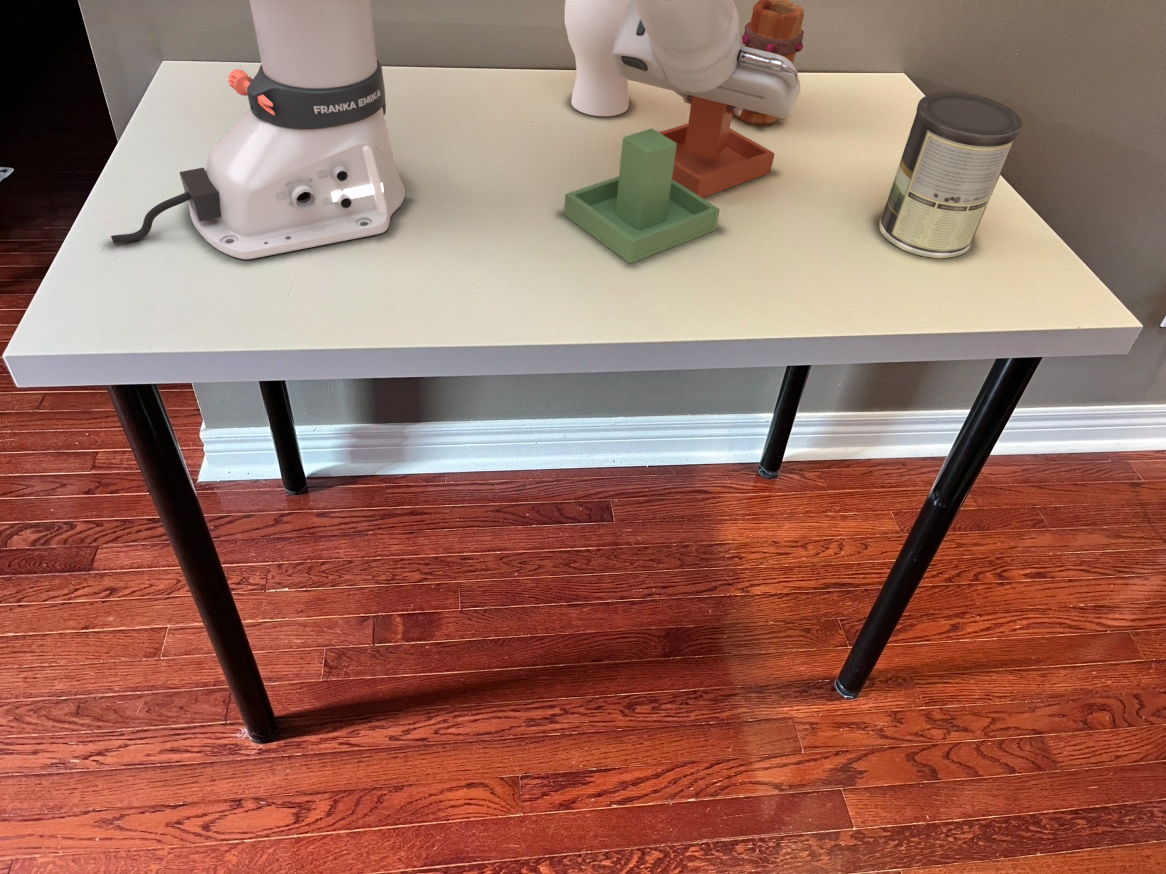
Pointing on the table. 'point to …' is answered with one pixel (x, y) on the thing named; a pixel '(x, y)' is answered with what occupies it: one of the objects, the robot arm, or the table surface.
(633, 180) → the green block
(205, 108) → the table surface
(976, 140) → the coffee can
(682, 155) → the terracotta tray
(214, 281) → the table surface
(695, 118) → the terracotta block
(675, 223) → the green tray
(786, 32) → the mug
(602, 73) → the white vase
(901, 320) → the table surface
